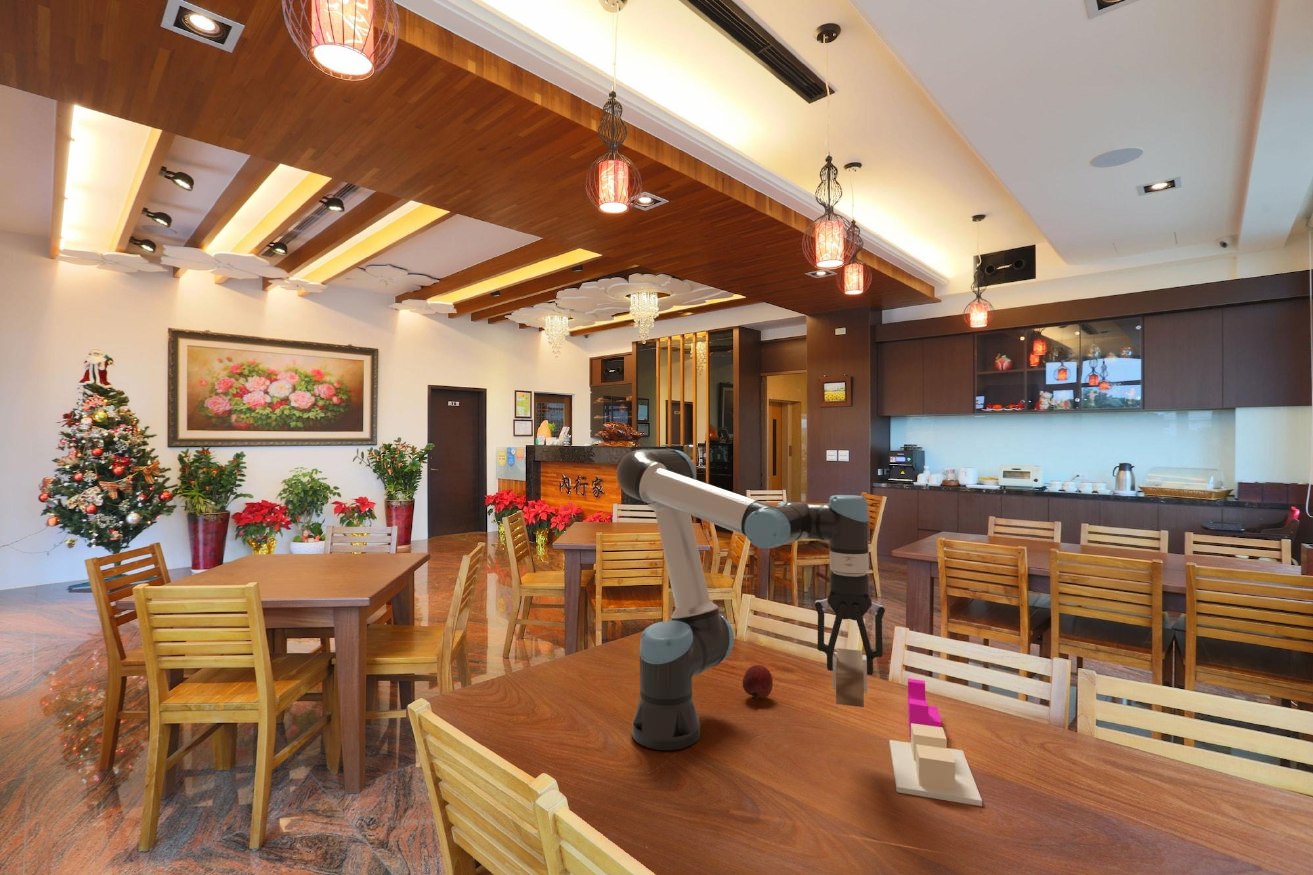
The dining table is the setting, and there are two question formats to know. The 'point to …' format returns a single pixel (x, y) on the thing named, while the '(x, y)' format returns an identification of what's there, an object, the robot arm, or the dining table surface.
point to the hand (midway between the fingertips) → (849, 688)
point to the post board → (932, 792)
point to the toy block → (920, 706)
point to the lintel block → (849, 678)
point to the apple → (758, 681)
